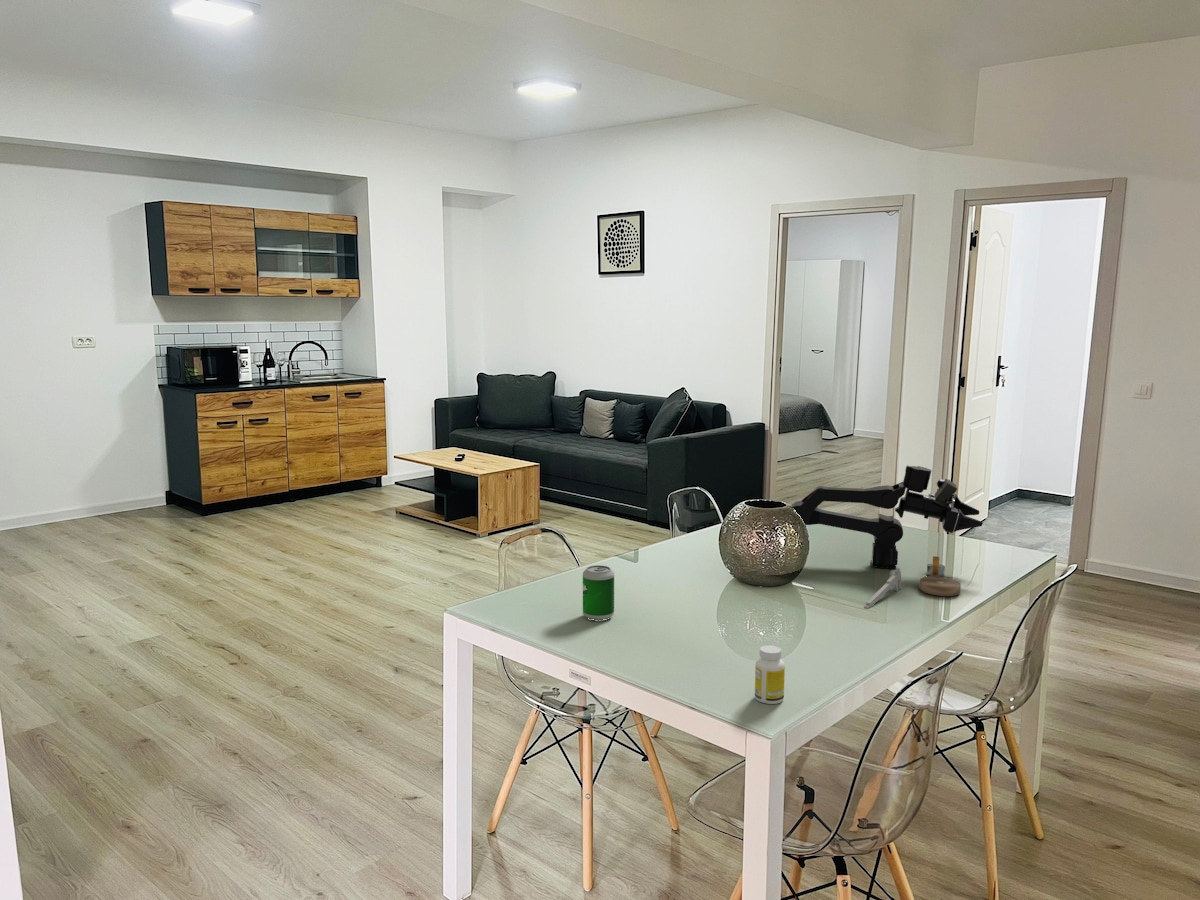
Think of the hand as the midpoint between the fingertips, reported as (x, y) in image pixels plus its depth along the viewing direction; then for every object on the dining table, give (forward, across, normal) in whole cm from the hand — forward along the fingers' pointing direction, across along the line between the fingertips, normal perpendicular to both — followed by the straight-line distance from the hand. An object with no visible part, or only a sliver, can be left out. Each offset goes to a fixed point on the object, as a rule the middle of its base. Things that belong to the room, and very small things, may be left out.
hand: (980, 518), depth 248 cm
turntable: (-9, -21, +14) cm, 27 cm away
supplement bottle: (-45, -102, +11) cm, 112 cm away
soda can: (-87, -68, +23) cm, 113 cm away
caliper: (-23, -34, +16) cm, 44 cm away
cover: (-8, -10, +16) cm, 21 cm away
